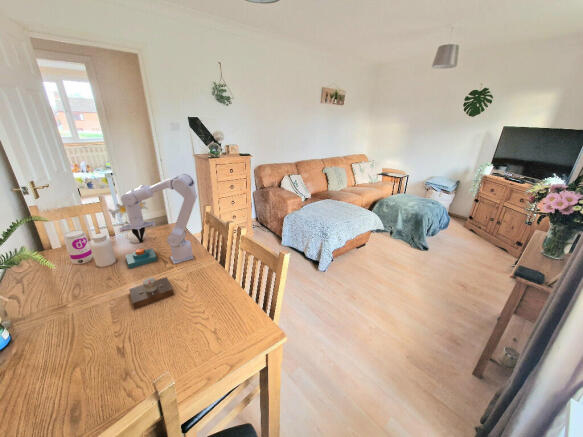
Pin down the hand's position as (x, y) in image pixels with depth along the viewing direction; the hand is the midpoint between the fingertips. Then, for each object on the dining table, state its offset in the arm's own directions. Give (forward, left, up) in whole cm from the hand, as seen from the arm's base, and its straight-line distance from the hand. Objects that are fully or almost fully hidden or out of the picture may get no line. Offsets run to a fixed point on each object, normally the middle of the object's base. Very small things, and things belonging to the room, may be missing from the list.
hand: (141, 241), depth 118 cm
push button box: (+2, +1, -10) cm, 10 cm away
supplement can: (+25, -15, -10) cm, 31 cm away
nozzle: (+2, +1, -6) cm, 6 cm away
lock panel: (+3, +32, -10) cm, 33 cm away
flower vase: (+1, -23, -10) cm, 25 cm away
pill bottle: (+16, -6, -10) cm, 19 cm away
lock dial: (+3, +32, -7) cm, 33 cm away
